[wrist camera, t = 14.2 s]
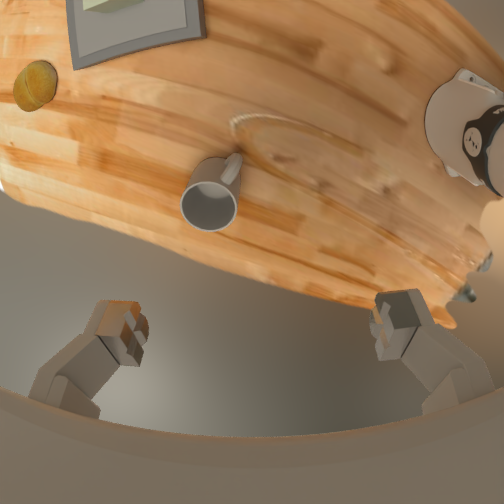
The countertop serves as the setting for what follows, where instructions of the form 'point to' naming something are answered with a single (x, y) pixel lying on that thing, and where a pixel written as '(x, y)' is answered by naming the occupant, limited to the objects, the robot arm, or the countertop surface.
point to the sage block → (107, 5)
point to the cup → (212, 193)
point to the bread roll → (35, 86)
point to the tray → (131, 29)
